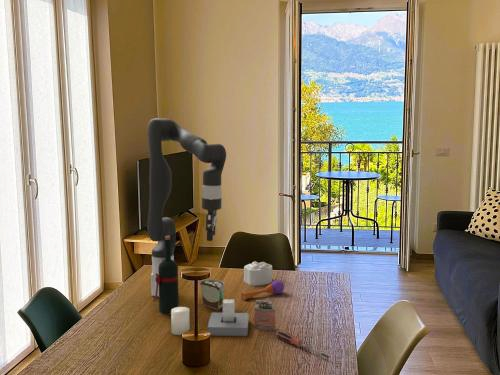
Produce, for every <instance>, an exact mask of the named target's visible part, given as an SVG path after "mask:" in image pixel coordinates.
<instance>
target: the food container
mask: <svg viewBox="0 0 500 375" xmlns="http://www.w3.org/2000/svg"><path fill="white" fill-rule="evenodd" d="M199 286H200V288H201V290H200V291H201V304H203V305H202V306H205V307H207V308H209V309H210V308H211V309H214V310H216V311H220V310H221V309H223V300H224V293H225V292H224V291H225V290H226V284H225V282H224V281H223V280H220V279H214V278H211V279H210V278H207V279H202V280H201V279H200V282H199Z"/></svg>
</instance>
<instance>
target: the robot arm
mask: <svg viewBox="0 0 500 375" xmlns="http://www.w3.org/2000/svg"><path fill="white" fill-rule="evenodd" d="M147 141H148V142H147V143H148V152H149V174H148V175H149V181H148V182H149V183H148V184H149V196H148V197H149V199H148V200H149V201H148V203H149V204H148V213H147V214H148V215H147V224H146V230H147V236H148V239H149V240H151V241H152V242H157V244H156V245H155V246H154V247H152V250H151V274H150V284H151V287H150V288H151V292H150V293H151V295H150V296H151V297H155V295H156V284H157V283H156V281H155V277H156V273H157V274H158V275H159V264H160V263H161V262H162V261H164V260H165V236H170V239H171V260H173V261H175V259H174V257H175V256H174V255H175V253H174V252H175V249H176V236H177V235H176V234H177V230H176V224H175V222H174V220H173V219H172V218H171V217H163V215H164V207H165V205H166V202H167V201H168V198H169V196H170V195H171V191H172V187H173V186H172V183H173V182H172V181H173V179H172V178H173V176H172V175H173V174H172V170H171V168H170V165H169V164H168V162H167V160H166V158H165V156H164V153H163V148H162V142H169V141H173V142H177V143H178V144H179V145H180V147H181V148H182V149H183V150H185V151H187V153H189V154H192V155H193V156H195V157H196V159H198V160H199V161H200V162H201V163H205V164H210V166H209V168H206V169H204V171H203V172H202V190H201V208H202V210H204V211H205V210H206V211H207V212H206V214H205V231H206V241H207V242H212V241H213V240H214V236H216V225H217V222H218V221H217V220H218V210H221V209H222V199H223V198H222V197H223V195H222V194H223V191H222V190H223V189H222V173H223V170H224V167H225V163H226V161H227V160H226V159H227V151H226V148H225V147H224V145H223V144H220V143H214V144H211V143H210V144H209V143H208V142H207V141H206V140H205V139H204V138H201V137H200V136H198V135H196V134H193V133H191V132H189V131H188V130H186V129H185V128H184V127H182V126H181V125H179V124H178V123H177V122H176V121H174V120H173V119H170V118H152V119H150V120H149V122H148V125H147ZM157 298H159V284H158V293H157Z"/></svg>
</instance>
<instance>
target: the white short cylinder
mask: <svg viewBox="0 0 500 375" xmlns="http://www.w3.org/2000/svg"><path fill="white" fill-rule="evenodd" d="M170 315H171V316H170V318H171V319H170V320H171V322H170V323H171V325H170V326H171V327H170V328H171V334H172V335H176V336H182V335H181V334H182V333H184V332H186V331H188V330H190V328H191V326H190V308H189V307H186V306H179V307H176V308H173V309H172V310H171V314H170ZM190 331H191V330H190Z"/></svg>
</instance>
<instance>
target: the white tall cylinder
mask: <svg viewBox="0 0 500 375" xmlns="http://www.w3.org/2000/svg"><path fill="white" fill-rule="evenodd" d="M235 306H236V305H235V299H232V298H231V299H227V298H226V299H225V298H223V305H222V313H223V323H235V313H236V312H235V311H236V310H235V308H236V307H235Z"/></svg>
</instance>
